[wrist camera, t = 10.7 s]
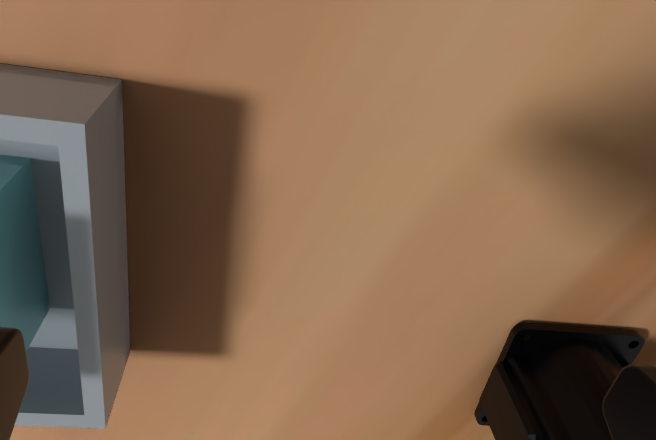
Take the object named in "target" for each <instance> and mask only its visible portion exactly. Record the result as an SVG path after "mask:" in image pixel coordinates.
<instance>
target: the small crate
mask: <svg viewBox="0 0 656 440" xmlns="http://www.w3.org/2000/svg"><path fill="white" fill-rule="evenodd" d="M49 309H50V304H49V296H48V288H47V281H46V273H45V265H44V258H43V250H42V242H41V234H40V227H39V219H38V211H37V204H36V196H35V188H34V181H33V173H32V165H31V158H27V157H17V156H8V155H0V327H6V328H16V329H19V330H20V331H21V333H22V335H23V339H24V345H25V351H27V349H28V348H29V346H30V344H31V342H32V340H33V338H34V337H35V335H36V333H37V331H38V329H39V327H40V326H41V324H42V322H43V320H44V318H45V316H46V315H47V313H48V311H49Z"/></svg>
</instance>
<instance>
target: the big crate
mask: <svg viewBox="0 0 656 440" xmlns="http://www.w3.org/2000/svg"><path fill="white" fill-rule="evenodd" d="M0 155H8V156H17V157H27V158H31V165H32V173H33V181H34V188H35V196H36V204H37V211H38V219H39V227H40V234H41V242H42V250H43V258H44V265H45V273H46V281H47V288H48V296H49V304H50V309H49V311H48V313H47V315H46V316H45V318H44V320H43V322H42V324H41V326H40V327H39V329H38V331H37V333H36V335H35V337H34V338H33V340H32V342H31V344H30V346H29V348H28V349H27V351H26V357H27V363H28V369H29V380H28V385H27V389H26V393H25V395H24V398H23V401H22V404H21V407H20V410H19V413H18V416H17V419H16V422H15V425H14V426H43V427H74V428H105V429H106V426H107V422H108V419H109V416H110V413H111V410H112V407H113V404H114V400H115V397H116V394H117V391H118V388H119V385H120V381H121V378H122V375H123V372H124V369H125V366H126V363H127V359H128V356H129V353H130V323H129V291H128V258H127V226H126V193H125V161H124V128H123V96H122V79H116V78H108V77H100V76H93V75H85V74H77V73H70V72H62V71H54V70H47V69H39V68H32V67H24V66H16V65H9V64H1V63H0Z"/></svg>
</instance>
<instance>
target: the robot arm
mask: <svg viewBox="0 0 656 440" xmlns="http://www.w3.org/2000/svg"><path fill="white" fill-rule="evenodd" d="M524 333H525V334H524ZM522 334H523V335H522ZM643 345H644V339H643V338H642V337H641V335H640V334H639V333H638V332H637V331H631V330H617V329H602V328H588V327H574V326H560V325H546V324H531V323H520V324H518V325H516V326H514V327H513V328H512V330H511V332H510V334H509V336H508V338H507V341H506V343H505V345H504V347H503V350H502V352H501V354H500V356H499V359H498V361H497V363H496V364H495V366H494V368H493V370H492V372H491V375H490V377H489V379H488V381H487V384H486V386H485V388H484V390H483V393H482V395H481V397H480V401H479V403H478V406H477V408H476V410H475V414H474V415H475V417H476V420H477V422H478V424H480V425H488V426H490V428H491V430H492V433H493V435H494V438H495V440H656V368H655V367H652V366H646V365H631V364H632V363H633V361H634V359H635V358H636V356H637V354H638V353H639V351H640V350H641V348H642V346H643ZM28 380H29V369H28V363H27V357H26V351H25V345H24V339H23V335H22V333H21V331H20V330H19V329H16V328H6V327H0V440H10V437H11V434H12V431H13V428H14V425H15V422H16V419H17V416H18V413H19V410H20V407H21V404H22V401H23V398H24V395H25V393H26V389H27V385H28Z"/></svg>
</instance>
